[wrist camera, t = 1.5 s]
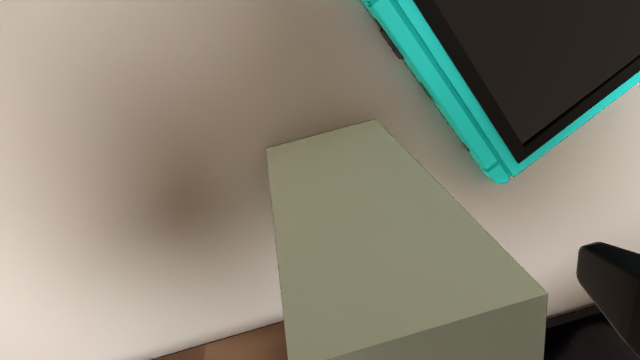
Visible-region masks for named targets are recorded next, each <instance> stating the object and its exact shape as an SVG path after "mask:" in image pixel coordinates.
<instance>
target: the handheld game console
mask: <svg viewBox="0 0 640 360" xmlns="http://www.w3.org/2000/svg"><path fill="white" fill-rule="evenodd" d="M361 1H362V2H363V4H364V5H365V7H366V8H367V9H368V11H369V12H370V14H371V15H372V16H373V18H376V19H377V21H378V22H379V23H380V25H381V26H382V28H383V29H382V30H381V31H380V32H381V34H382V35H383V36H384V38H385V39H386V41H387V42H388V43H389V45H390V46H391V48H392V49H393V51H394V52H395V53H396V55H397V56H398V57H399V59H403V60H404V61H405V63H406V64H407V66H408V67H409V69H410V70H411V71H412V73H413V74H414V76H415V77H416V78H417V80H418V81H419V83H420V84H421V85H422V87H423V88H424V90H425V91H426V92H427V94H428V95H429V97H430V98H431V99H432V101H433V102H434V104H435V105H436V107H437V108H438V109H439V111H440V112H441V114H442V115H443V116H444V118H445V119H446V121H447V122H448V123H449V125H450V126H451V128H452V129H453V130H454V132H455V133H456V135H457V136H458V137H459V139H460V140H461V142H462V143H464V144H465V145H466V146H467V147H468V149H467V150H468V152H469V153H470V154H471V156H472V157H473V159H474V160H475V161H476V163H477V164H478V166H479V167H480V168H481V170H482V171H483V173H484V174H485V175H486V176H487V177H489V178H490V179H491V180H492V181H494V182H495V183H498V184H503V183H506V182H508V181H509V180H510V179H509V178H508V177H509V176H513V177H515V176H516V175H517V174H519V173H520V172H521V171H523V170H524V169H525V168H527V167H528V166H529V165H530V164H532V163H533V162H534V161H536V160H537V159H538V158H540V157H541V156H542V155H544V154H545V153H546V152H547V151H549V150H550V149H551V148H553V147H554V146H555V145H557V144H558V143H559V142H561V141H562V140H563V139H565V138H566V137H567V136H568V135H570V134H571V133H572V132H574V131H575V130H576V129H578V128H579V127H580V126H582V125H583V124H584V123H586V122H587V121H588V120H589V119H591V118H592V117H593V116H595V115H596V114H597V113H599V112H600V111H601V110H603V109H604V108H605V107H606V106H608V105H609V104H610V103H612V102H613V101H614V100H616V99H617V98H618V97H620V96H621V95H622V94H624V93H625V92H626V91H627V90H629V89H630V88H631V87H633V86H634V85H635V84H637V83H638V82H639V81H640V0H361Z"/></svg>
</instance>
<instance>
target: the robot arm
mask: <svg viewBox="0 0 640 360" xmlns="http://www.w3.org/2000/svg"><path fill="white" fill-rule="evenodd" d="M576 274H577V278H578V281H579V283H580V284H581V286H582V287H583V288H584V289H585V291H586V292H587V293H588V295H589V296H590V297H591V299H592V300H593V301H594V302H595V304H596V305H597V306H595V307H591V308H588V309H585V310H581V311H578V312H575V313H571V314H568V315H565V316H561V317H558V318H555V319H551V320H548V321H546V330H545V345H544V360H640V254H638V253H635V252H632V251H628V250H625V249H622V248H619V247H616V246H612V245H609V244H606V243H602V242H594V243H591V244H588V245H584V246H582V247H581V248H580V249H579V252H578V262H577V272H576Z"/></svg>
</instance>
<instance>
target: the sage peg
mask: <svg viewBox="0 0 640 360" xmlns="http://www.w3.org/2000/svg"><path fill="white" fill-rule="evenodd" d="M266 155H267V165H268V174H269V184H270V193H271V203H272V212H273V222H274V231H275V241H276V250H277V260H278V269H279V279H280V288H281V298H282V307H283V317H284V326H285V336H286V345H287V355H288V360H544V345H545V330H546V314H547V299H548V293H547V292H546V291H545V290H544V289H543V288H542V287H541V286H540V285H539V284H538V283H537V282H536V281H535V280H534V279H533V278H532V277H531V276H530V275H529V274H528V273H527V272H526V271H525V270H524V269H523V268H522V267H521V266H520V265H519V264H518V263H517V262H516V261H515V260H514V259H513V258H512V257H511V256H510V255H509V254H508V253H507V252H506V251H505V250H504V249H503V248H502V247H501V246H500V245H499V244H498V243H497V242H496V240H495V239H494V238H493V237H492V236H491V235H490V234H489V233H488V232H487V231H486V230H485V229H484V228H483V227H482V226H481V225H480V224H479V223H478V222H477V221H476V220H475V219H474V218H473V217H472V216H471V215H470V214H469V213H468V212H467V211H466V210H465V209H464V208H463V207H462V206H461V205H460V204H459V203H458V202H457V201H456V200H455V199H454V198H453V197H452V196H451V195H450V194H449V193H448V192H447V191H446V190H445V189H444V188H443V187H442V186H441V185H440V184H439V183H438V182H437V181H436V180H435V179H434V178H433V177H432V176H431V175H430V174H429V173H428V172H427V171H426V170H425V169H424V168H423V167H422V166H421V165H420V164H419V163H418V162H417V161H416V160H415V159H414V158H413V156H412V155H411V154H410V153H409V152H408V151H407V150H406V149H405V148H404V147H403V146H402V145H401V144H400V143H399V142H398V141H397V140H396V139H395V138H394V137H393V136H392V135H391V134H390V133H389V132H388V131H387V130H386V129H385V128H384V127H383V126H382V125H381V124H380V123H379V122H378V121H377V120H376V119H373V120H370V121H366V122H362V123H359V124H355V125H351V126H347V127H344V128H340V129H336V130H333V131H329V132H325V133H322V134H318V135H314V136H310V137H307V138H303V139H299V140H296V141H292V142H288V143H284V144H281V145H277V146H273V147H270V148H266Z"/></svg>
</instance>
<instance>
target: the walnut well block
mask: <svg viewBox="0 0 640 360" xmlns="http://www.w3.org/2000/svg"><path fill="white" fill-rule="evenodd" d="M153 360H288V355H287V345H286V336H285V326H284V322H281V323H277V324H274V325H270V326H267V327H263V328H260V329H256V330H253V331H250V332H246V333H243V334H239V335H236V336H232V337H229V338H226V339H222V340H219V341H215V342H212V343H208V344H205V345H202V346H198V347H195V348H191V349H188V350H184V351H181V352H178V353H174V354H171V355H167V356H164V357H160V358H157V359H153Z"/></svg>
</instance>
